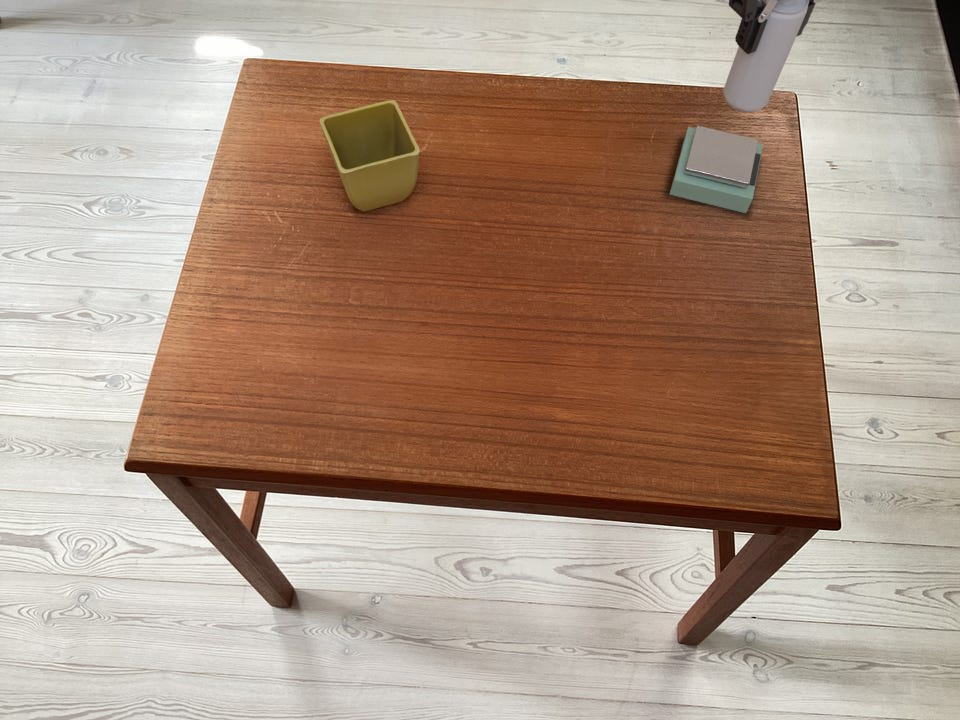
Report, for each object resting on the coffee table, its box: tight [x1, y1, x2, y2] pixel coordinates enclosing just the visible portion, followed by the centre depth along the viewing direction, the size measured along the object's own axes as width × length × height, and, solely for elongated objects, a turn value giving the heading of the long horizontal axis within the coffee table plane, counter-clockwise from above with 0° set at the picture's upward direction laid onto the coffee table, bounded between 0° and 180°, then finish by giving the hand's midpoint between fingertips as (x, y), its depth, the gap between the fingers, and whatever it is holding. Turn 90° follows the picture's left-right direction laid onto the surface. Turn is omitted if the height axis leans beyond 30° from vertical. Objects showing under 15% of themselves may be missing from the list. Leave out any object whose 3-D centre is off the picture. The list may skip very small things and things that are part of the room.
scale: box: [669, 126, 764, 214], centre depth 90 cm, size 9×9×3 cm
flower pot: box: [319, 99, 421, 213], centre depth 86 cm, size 9×9×9 cm
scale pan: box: [685, 125, 759, 188], centre depth 89 cm, size 7×7×1 cm
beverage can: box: [722, 0, 809, 113], centre depth 76 cm, size 5×5×12 cm
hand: (768, 39), depth 75 cm, fingers closed on beverage can, 5 cm apart
